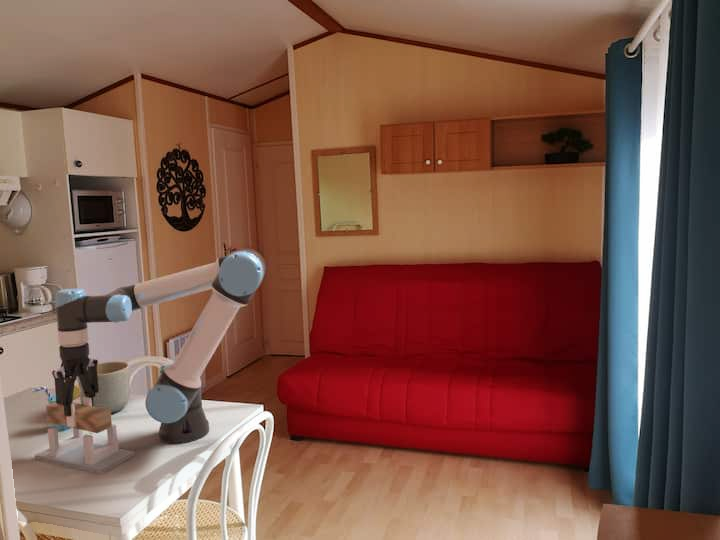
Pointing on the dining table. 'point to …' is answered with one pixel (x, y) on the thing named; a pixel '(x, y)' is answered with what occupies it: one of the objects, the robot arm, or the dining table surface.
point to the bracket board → (84, 451)
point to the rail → (81, 417)
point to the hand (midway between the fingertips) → (80, 422)
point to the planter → (111, 386)
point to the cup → (53, 399)
